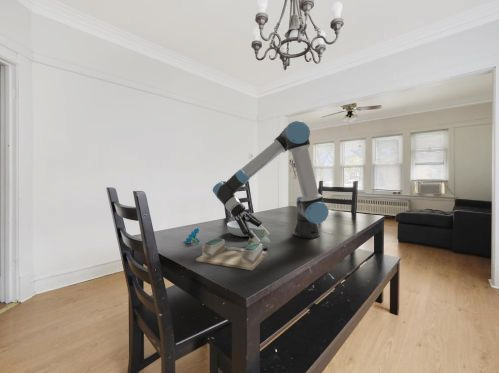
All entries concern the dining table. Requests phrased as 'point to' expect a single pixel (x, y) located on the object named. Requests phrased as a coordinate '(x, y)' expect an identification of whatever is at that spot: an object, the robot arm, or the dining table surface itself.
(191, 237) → the gear
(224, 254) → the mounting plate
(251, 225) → the serving bowl
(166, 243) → the dining table surface
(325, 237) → the dining table surface
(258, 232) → the air freshener
